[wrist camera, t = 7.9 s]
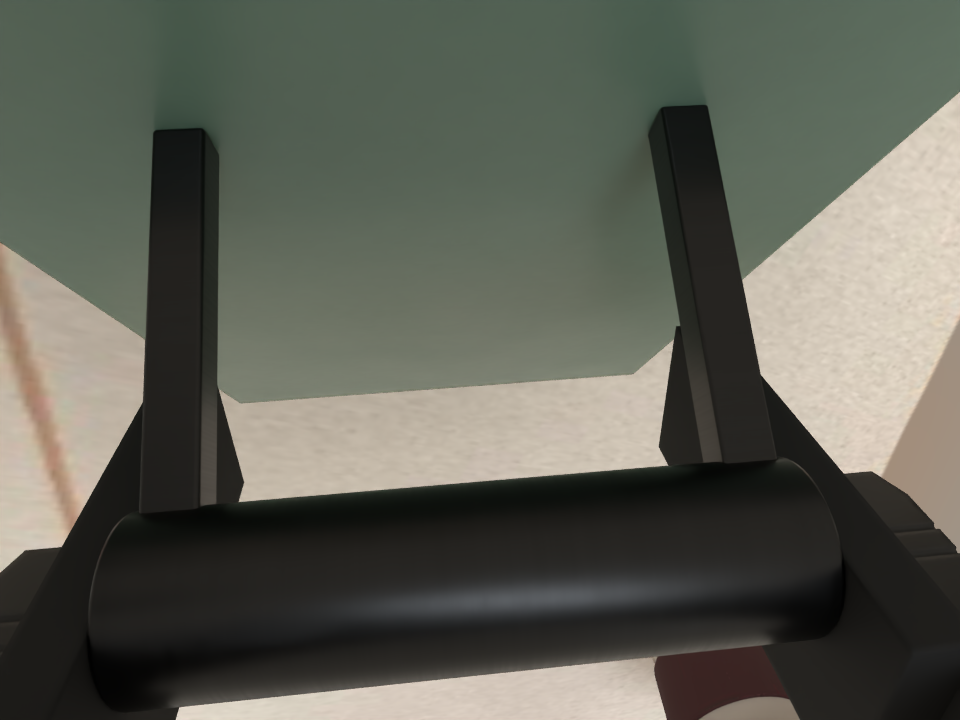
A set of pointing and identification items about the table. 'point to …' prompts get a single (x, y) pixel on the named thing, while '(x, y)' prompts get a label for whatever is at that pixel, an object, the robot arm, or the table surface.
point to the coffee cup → (722, 686)
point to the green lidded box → (445, 306)
